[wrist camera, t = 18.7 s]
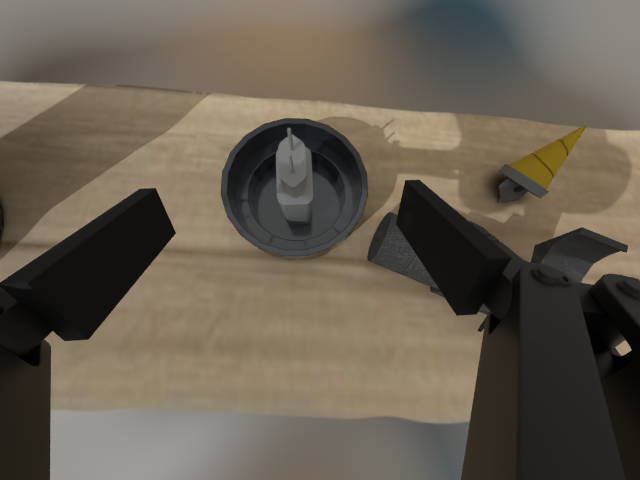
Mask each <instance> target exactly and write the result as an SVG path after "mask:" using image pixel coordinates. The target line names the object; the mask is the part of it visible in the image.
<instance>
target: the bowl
mask: <svg viewBox="0 0 640 480" xmlns="http://www.w3.org/2000/svg"><path fill="white" fill-rule="evenodd" d="M287 128H291V134H292V135H294V136H295V137H297V138H298V139H300V140H301V141H302V142H303V143H304V145H305V147H307V148H308V149H309V150H310V152H311V161H312V180H313V215H312V221H311V222H310V223H309V224H302V225H290V224H288V223H287V221H286V219H285V216H284V214H283V211H282V209H281V206H280V204H279V201H278V199H277V179H276V152H277V150H278V147H279V144H280V142H281V141H283V140H284V139H285V138H286V137H287V136H288V132H287ZM367 196H368V185H367V172H366V170H365V167H364V165H363V162H362V160H361V157H360V155H359V153H358V152H357V150H356V149H355V148H354V147H353V146H352V144H351V143H350V142H349V141H348V139H347V138H346V137H345V136H343V135H342V134H340V133H339V132H337V131H336V130H334V129H333V128H331V127H330V126H328V125H325V124H322V123H319V122H316V121H312V120H309V119H293V118H285V119H281V120H277V121H273V122H270V123H266V124H263V125H261V126H260V127H258V128H256V129H255V130H253V131H252V132H250V133H248V134H247V135H245V136H244V137H243V138H242V140H241V141H240V142H239V143H238V144H237V145H236V146H235V148H234V149H233V150H232V151H231V152H230V155H229V157H228V159H227V162H226V164H225V167H224V169H223V171H222V184H221V197H222V200H223V204H224V207H225V211H226V214H227V217H228V218H229V220H230V221H231V222H232V224H233V225H234V227H235V228H236V229H237V231H238V232H239V234H240V235H241V236H243V237H244V238H245V239H247V240H248V241H249V242H251V243H252V244H254V245H255V246H256V247H258V248H259V249H261V250H263V251H264V252H266V253H268V254H269V255H272V256H276V257H279V258H282V259H285V260H310V259H313V258H316V257H319V256H322V255H325V254H327V253H328V252H330V251H331V250H332V249H334V248H335V247H337V246H338V245H339V244H341V243H342V242H343V241H344V239H345V238H346V237H347V236H348V235H349V234H350V232H351V231H352V229H353V228H354V226H355V225H356V224H357V222H358V221H359V219H360V218H361V216H362V214H363V210H364V207H365V203H366V200H367Z"/></svg>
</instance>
